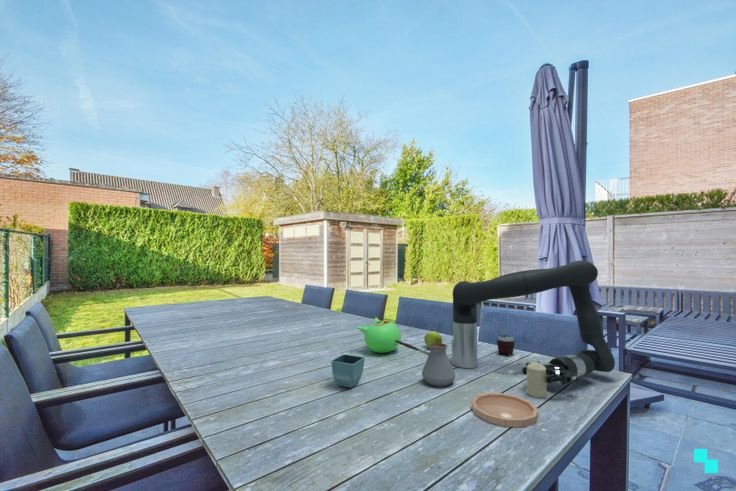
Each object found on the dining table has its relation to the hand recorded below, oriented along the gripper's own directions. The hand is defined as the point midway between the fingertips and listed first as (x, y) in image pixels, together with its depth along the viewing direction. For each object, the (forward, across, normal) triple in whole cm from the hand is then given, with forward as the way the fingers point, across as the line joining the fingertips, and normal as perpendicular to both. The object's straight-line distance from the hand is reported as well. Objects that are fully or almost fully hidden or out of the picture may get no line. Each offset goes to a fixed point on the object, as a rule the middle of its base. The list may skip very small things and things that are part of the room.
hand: (534, 375), depth 108 cm
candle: (-1, 0, +6) cm, 6 cm away
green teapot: (+20, -64, +6) cm, 68 cm away
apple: (-4, -57, +6) cm, 57 cm away
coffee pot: (+25, -24, +6) cm, 35 cm away
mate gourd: (-26, -35, +6) cm, 44 cm away
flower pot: (+49, -35, +6) cm, 60 cm away
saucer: (+18, +4, +6) cm, 19 cm away
